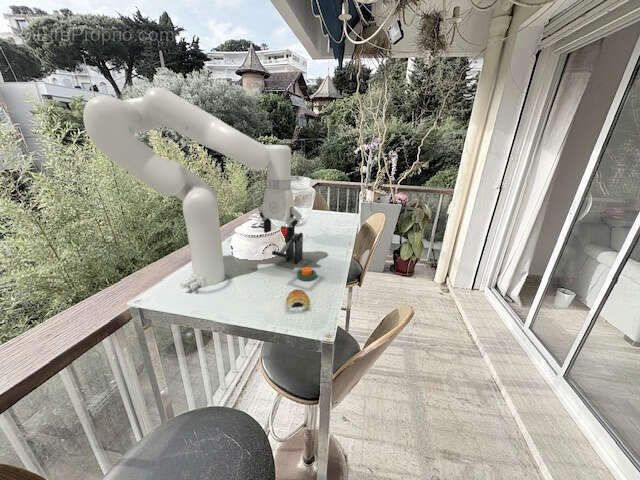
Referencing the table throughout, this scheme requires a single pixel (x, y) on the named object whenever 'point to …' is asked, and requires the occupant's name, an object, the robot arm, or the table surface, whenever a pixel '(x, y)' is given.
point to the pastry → (297, 299)
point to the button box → (306, 278)
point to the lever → (284, 248)
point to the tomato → (284, 231)
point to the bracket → (295, 248)
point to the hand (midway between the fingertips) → (278, 234)
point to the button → (306, 271)
